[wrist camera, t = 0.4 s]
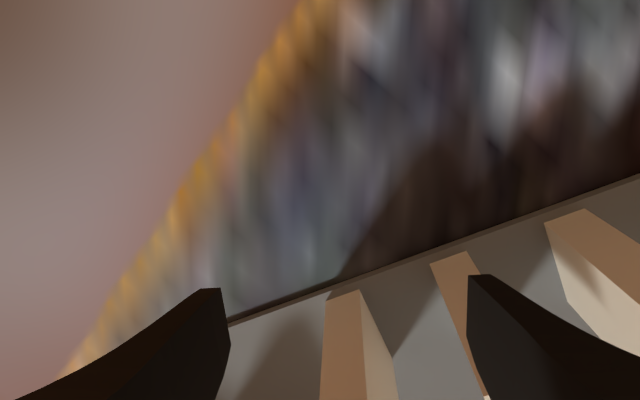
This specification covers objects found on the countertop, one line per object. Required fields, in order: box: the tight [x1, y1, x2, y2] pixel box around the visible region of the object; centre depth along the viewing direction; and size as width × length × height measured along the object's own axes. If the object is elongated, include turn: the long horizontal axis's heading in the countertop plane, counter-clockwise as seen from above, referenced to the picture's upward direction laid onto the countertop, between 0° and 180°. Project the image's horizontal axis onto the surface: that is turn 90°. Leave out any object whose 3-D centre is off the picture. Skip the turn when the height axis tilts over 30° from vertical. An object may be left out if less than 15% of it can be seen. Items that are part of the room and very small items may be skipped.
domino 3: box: [544, 208, 640, 357], centre depth 17 cm, size 2×5×9 cm, turn 24°
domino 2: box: [430, 251, 491, 400], centre depth 18 cm, size 2×5×9 cm, turn 24°
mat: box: [215, 173, 640, 400], centre depth 24 cm, size 12×33×1 cm, turn 114°
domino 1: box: [319, 289, 399, 400], centre depth 19 cm, size 2×5×9 cm, turn 24°
